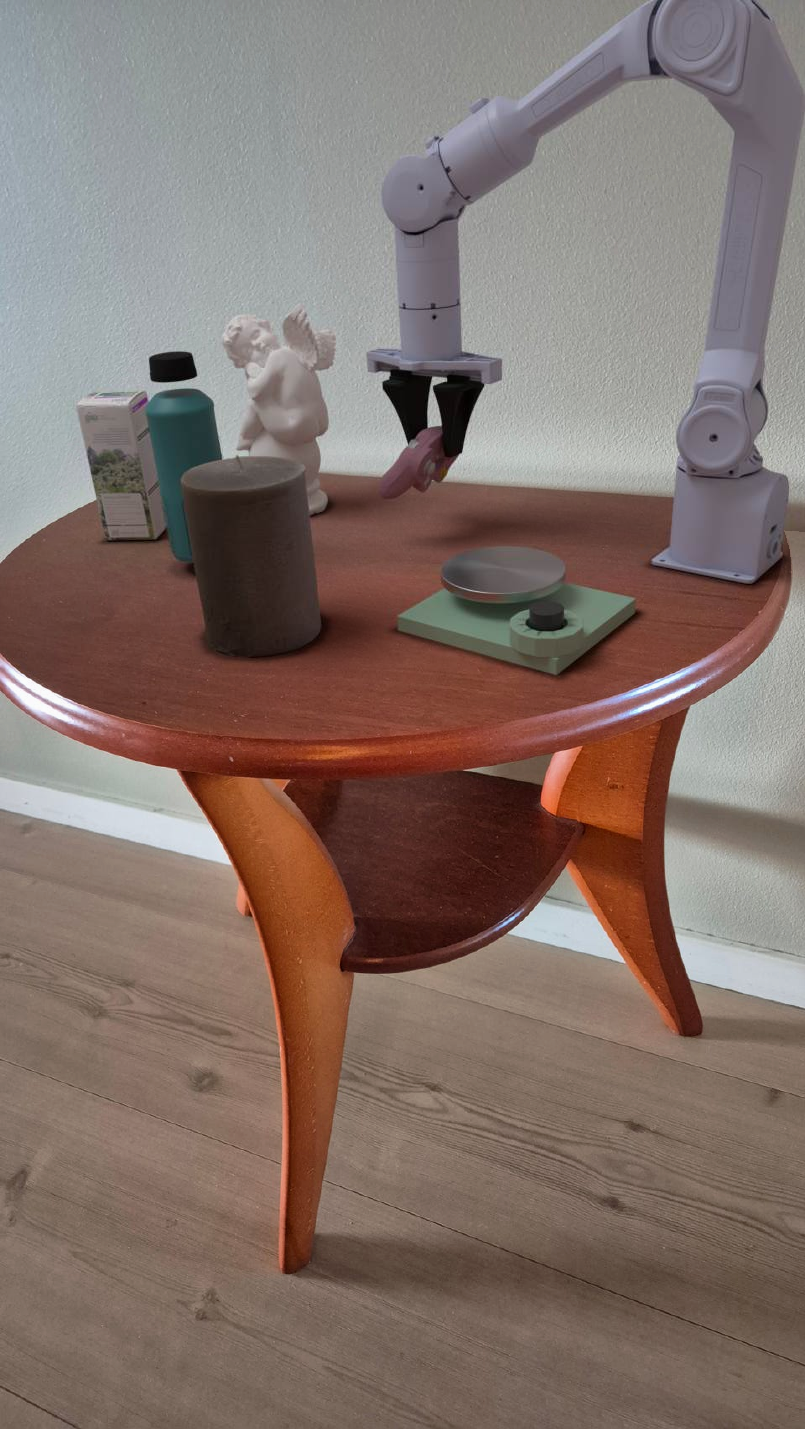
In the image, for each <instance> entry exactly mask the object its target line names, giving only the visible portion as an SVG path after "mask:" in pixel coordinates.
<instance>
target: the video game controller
mask: <svg viewBox="0 0 805 1429" xmlns="http://www.w3.org/2000/svg"><path fill="white" fill-rule="evenodd" d="M459 456H460V454H459V455H456V456H454V457H452V458H449V457H445V454H444V449H443V436H442V424H441V425H435V426H429V427H428V428H427V429H424V430H422V431H421V432H420V433H419V434H418V435H417V437H416V438H415V439H414V440H411V441H410V443H409V445H408V444H407V446H406V447H404V448H403V450H402V451H401V452H400V454H399V456H398V457H397V459H396V461H395V462H394V463H393V465H391V467H390V468H389V469H388V470H387V471H386V472H385V473H384V474H383V475H382V477H381V478H380V480H379V482H378V493H379V495H380V496H381V498H383V499H385V500H392V499H393V500H394V499H397V498H399V497H400V496H402V495H403V494H405V493H406V492H407V491H408V490H409V489H411V488H414V489H415V490H417V491H419V492H421V493H425V492H426V491H428V489H429V487H430V486H431V484H432V482H435V483H438V484H440V483H441V482H443V480H444V479H445V478H446V477H447V476H448V474H449V471H450V468H451V467H452V465H453V464H454V463H455V462H456V460H457V459H458V457H459Z"/></svg>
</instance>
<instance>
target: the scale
mask: <svg viewBox="0 0 805 1429" xmlns="http://www.w3.org/2000/svg"><path fill="white" fill-rule="evenodd" d="M542 601H552V602H557V603H559V604H561V605H563V606H564V627H563V629H561V630H557V631H553V632H542V631H536V630H532V629H530V627H529V608H530V606H531V605H532V604H534V603H537V602H542ZM636 606H637V598H636V597H631V596H627V595H623V594H619V593H615V592H614V593H613V592H610V591H605V590H601V589H595V588H591V587H587V586H583V585H579V584H574V583H569V582H566V581H565V582H564V584H563V585H562V587H561V588H559V589H558V590H557V591H555V592H554V593H552V594H549V595H547V596H544V597H542V598H538V599H534V600H530V601H524V602H516V603H485V602H477V601H472V600H467V599H464V598H461V597H458V596H456V595H454V594H452V593H450V592H448V591H447V590H446V589H445V588H444V587H443V588H442V589H440V590H438V591H436V593H434V594H431V595H430V596H429V597H426V598H425V599H423V600H422V601H420V602H418V603H417V604H415V605H413V606H411V607H409V608H408V609H406V610H404V611H403V612H401V613H399V614H398V615H397V616H396V618H397V620H396V621H397V630H398V631H399V632H403V633H407V634H409V635H414V636H417V637H420V638H423V639H427V640H431V641H434V642H438V643H441V644H445V645H447V646H451V647H452V646H453V647H456V648H459V649H463V650H466V651H469V652H473V653H476V654H479V655H483V656H488V657H490V658H495V659H497V660H501V661H504V662H505V661H506V662H508V663H512V664H516V665H520V666H522V667H526V668H530V669H533V670H535V671H536V670H537V671H539V672H544V673H547V674H551V675H555V676H557V675H559V674H560V673H562V671H564V670H565V669H566V668H568V667H569V666H570V665H571V664H572V663H574V662H575V661H576V660H577V659H578V658H580V657H581V656H582V655H584V654H586V653H587V651H589V650H590V649H591V648H592V647H594V646H595V645H596V644H598V643H599V642H600V641H602V640H603V639H604V638H606V637H607V636H608V635H609V634H610V633H612V632H613V631H614V630H616V629H617V628H619V626H620V625H622V624H623V623H624V622H626V621H627V620H628V619H630V618H631V617H632V616H633V615H634V614H636Z"/></svg>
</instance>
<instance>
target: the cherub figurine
mask: <svg viewBox="0 0 805 1429" xmlns="http://www.w3.org/2000/svg"><path fill="white" fill-rule="evenodd" d="M302 303H303V302H302V301H300V302H298V304H296V305H295V306H294V307H293V308H292V309H291V311H290V312H288V313H287V314H285V316H284V317H283V320H282V322H281V329H282V335H283V336H282V337H284V338H283V339H282V340H279V337H278V336H277V335H276V334H275V332H274V330H273V328H272V327H271V326H270V323H269V321H268V320H267V319H262V318H260V317H259V316H258V314H257V313H256V314H252V315H251V314H249V313H247V314H237V315H236V316H234V317H233V318H231V320H229V322H228V323H227V324H225V326H224V329H225V330H224V332H223V333H222V334H221V336H220V337H221V340H220V342H221V344H222V346H223V348H224V350H225V353H226V355H227V358H228V359H229V360H231V361H232V364H233V367H234V368H235V369H244V375H245V378H246V380H247V386H246V389H247V392H248V395H249V397H250V398H249V399H248V400H249V401H248V405H247V409H246V411H245V413H244V417H243V420H242V424H241V426H240V430H239V435H238V438H237V443H236V448H235V449H236V451H238V452H240V451H241V452H242V451H247V452H248V456H270V457H282V458H288V459H291V460H296V461H297V462H298V463H300V464H303V465H305V467H306V468H305V469H306V471H305V481H306V489H307V499H308V506H309V515H310V516H312V515H314V514H319V513H320V512H321V513H322V512H324V510H326V507H327V505H328V502H329V498H328V494H327V493H326V492H325V491H323V490H321V489H320V487H321V482H320V480H319V478H317V476H318V475H319V471H320V468H321V462H322V458H321V450H320V446H319V443H318V442H317V437H322V436H323V435H325V434H326V433H327V431H328V430H329V424H330V421H329V420H330V419H329V418H330V417H329V411H328V407H327V404H326V401H325V399H324V397H323V396H324V395H323V392H322V385H321V382H320V379H319V377H318V376H319V375H318V374H317V372H316V371H319V372H321V371H326V370H329V369H330V367H332V366H334V360H335V355H336V353H335V352H336V345H337V344H336V336H335V334H332V333H333V331H332V330H331V329H330V328H325V329H323V330H319V329H316V328H313V327H311V326H310V325H311V323H310V321H309V319H308V318H307V317H308V313H307V310H305V309H304V310H303V304H302ZM281 342H284V343H285V345H287V346H285V345H282V344H281Z"/></svg>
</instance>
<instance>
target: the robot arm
mask: <svg viewBox="0 0 805 1429" xmlns="http://www.w3.org/2000/svg"><path fill="white" fill-rule="evenodd" d="M671 79H674V80H676V81H677V82H679V83H681V84H682V85H684V86H686V87H687V88H690V89H692V90H693V91H696V92H697V93H699V94H701V95H702V96H704V97H705V98H707V99H708V102H709V104H710V105H711V106H712V107H713V108H714V109H715V110H716V112H717V113H719V115H720V116H721V118H723V120H724V121H725V122H726V123H727V124H728V125H729V127H730V128H731V129H732V131H733V143H732V149H731V156H730V164H729V171H728V177H727V185H726V191H725V200H724V205H723V213H722V219H721V220H722V221H721V228H720V235H719V243H718V249H717V256H716V263H715V271H714V277H713V284H712V292H711V298H710V305H709V306H710V307H709V312H708V313H709V314H708V321H707V327H706V334H705V341H704V348H703V355H702V357H701V362H700V364H699V368H698V371H697V373H696V374H697V375H696V378H695V382H694V389H693V394H692V399H691V402H690V404H689V406H688V408H687V410H686V411H685V412H684V414H683V415H682V417H681V418H680V420H679V422H678V424H677V428H676V433H675V442H676V447H677V451H678V453H679V455H678V456H677V458H676V468H675V479H674V490H673V491H674V492H673V502H672V515H671V526H670V539H669V546H668V547H667V548H665V549H664V550H663V551H660V553H659V554H657V555H656V556H654V557H653V558H652V559H651V564H652V565H653V566H656V567H662V568H666V569H671V570H675V571H682V572H687V573H691V574H696V575H700V576H705V577H711V578H715V579H720V580H726V581H730V582H731V581H732V582H737V583H741V584H745V585H746V584H747V585H751V584H753V583H755V582H756V581H757V580H758V579H759V578H760V577H761V576H763V575H764V574H765V573H766V572H767V571H768V570H769V569H771V567H773V566H774V565H775V564H776V563H777V562H778V561H779V560H780V559H781V558H782V557H783V554H784V552H783V551H782V544H783V539H784V532H785V525H786V517H787V510H788V503H789V497H790V481H789V478H788V475H786V474H784V473H781V472H775V471H773V470H770V469H768V468H766V467H765V466H763V464H764V457H763V456H762V455H761V454H760V451H759V449H758V447H757V445H756V444H755V441H756V439H757V437H758V436H759V435H760V433H761V432H762V431H763V429H764V427H765V425H766V423H767V422H768V421H767V420H768V415H769V402H768V399H767V396H766V393H765V389H764V384H763V383H764V382H763V380H764V374H765V373H764V372H765V369H766V368H765V367H766V364H765V363H766V360H765V348H766V341H767V335H768V330H769V325H770V324H769V323H770V317H771V312H772V306H773V300H774V293H775V289H776V283H777V278H778V270H779V266H780V260H781V259H780V258H781V252H782V247H783V242H784V235H785V230H786V224H787V217H788V212H789V206H790V201H791V195H792V187H793V182H794V176H795V172H796V171H795V170H796V165H797V159H798V153H799V147H800V143H801V142H800V141H801V136H802V130H803V123H804V118H805V91H804V88H803V86H802V84H801V82H800V80H799V79H800V78H799V77H798V75H797V73H796V69H795V68H794V65H793V63H792V61H791V58H790V57H789V54H788V52H787V49H786V47H785V45H784V42H783V40H782V38H781V35H780V33H779V31H778V27H777V24H776V21H775V18H774V16H773V15H772V14H771V12H769V11H768V10H767V9H766V8H765V7H764V6H763V5H762V4H761V3H760V2H758V1H757V0H648V1H646V2H644V3H643V4H641V5H640V6H638V7H636V9H635V10H633V11H632V12H630V13H629V14H628V15H626V16H625V17H624V18H622V19H621V20H620V21H618V22H617V23H616V24H614V25H613V26H612V27H610V28H609V29H608V30H607V31H606V32H604V33H603V34H602V35H600V36H599V37H598V38H596V39H595V40H594V41H593V42H592V43H590V44H589V45H588V46H587V47H586V48H584V49H583V50H581V51H580V52H579V53H578V54H576V55H575V56H574V57H573V58H571V59H570V60H569V61H568V62H566V63H565V64H563V65H562V66H561V67H559V69H558V70H555V72H554V73H552V74H551V75H550V76H548V78H546V79H545V80H544V81H542V82H541V83H540V84H538V85H537V86H536V87H534V88H533V89H532V90H530V92H529V93H527V94H526V95H524V96H523V97H522V98H521V99H519V100H517V99H513V98H510V97H507V96H504V95H497V96H494V97H493V98H492V99H491V100H490V99H489V97H480V98H478V99H477V100H475V101H474V102H473V103H471V104H470V105H469V110H470V112H471V115H469V116H467V117H466V118H465V119H464V120H463V121H461V122H460V123H459V124H457V125H455V126H454V127H452V129H450V130H449V131H448V132H446V133H445V134H444V135H442V136H439V135H432V136H431V137H430V138H428V139H426V140H425V142H424V145H425V147H426V149H425V152H424V155H420V154H406V155H401V156H400V157H398V159H397V160H396V162H395V164H393V165H392V166H391V167H390V168H389V169H388V171H387V173H386V174H385V176H384V178H383V182H382V186H381V192H380V193H381V194H380V195H381V203H382V208H383V210H384V213H385V215H386V217H387V218H388V220H389V222H390V223H391V224H392V225H393V226H394V229H393V230H394V243H395V245H394V246H395V268H396V285H397V287H396V288H397V304H398V318H399V320H398V321H399V336H400V338H399V339H400V348H381V347H379V348H376V349H372V350H371V349H370V350H367V351H366V366H367V373H372V374H373V373H374V374H376V373H380V372H382V373H389V376H388V379H385V380H383V381H382V382H381V385H382V386H381V388H382V391H383V392H384V393H385V395H386V397H388V400H389V401H390V402H391V404H392V406H393V408H394V410H395V412H396V415H397V417H398V419H399V421H400V424H401V427H402V430H403V432H404V433H403V434H404V436H405V439H406V443H407V446H408V445H409V443H410V441H411V440H414V439H415V438H416V437H417V435H418V434H419V433H420V432H421V431H422V430H424V429H427V428H429V420H428V411H429V410H428V409H429V399H430V392H431V386H432V392H433V394H434V397H435V400H436V403H437V407H438V411H439V416H440V421H441V425H442V436H443V449H444V454H445V457H449V458H452V457H454V456H456V455H459V456H460V455H461V454H463V451H464V445H465V440H466V435H467V432H468V427H469V423H470V420H471V417H472V414H473V411H474V408H475V407H476V404H477V402H478V399H479V397H480V395H481V393H482V392H483V390H484V388H485V385H493V384H494V383H498V382H500V381H502V380H503V359H502V358H501V357H492V356H487V355H482V354H477V353H472V352H467V351H463V340H462V338H463V337H462V305H461V304H462V302H461V273H460V272H461V271H460V269H461V268H460V267H461V266H460V247H459V246H460V244H459V221H460V219H461V217H462V216H463V214H464V212H465V210H466V208H467V206H471V205H473V204H475V203H476V202H477V201H479V200H481V198H484V197H485V196H486V195H488V194H490V193H491V192H493V191H494V190H495V189H496V188H498V187H500V186H501V185H502V184H504V183H506V182H507V181H508V180H510V179H512V178H514V177H515V176H516V175H518V174H519V173H521V172H522V171H523V170H525V169H526V168H528V167H529V166H531V165H532V163H533V161H534V159H535V154H536V151H537V148H538V144H539V142H540V139H541V138H542V137H543V136H545V135H547V134H549V133H550V132H552V131H553V130H555V129H557V128H559V127H560V126H561V125H563V124H565V123H566V122H568V121H569V120H571V119H572V118H574V117H575V116H577V115H579V114H580V113H582V112H584V111H585V110H586V109H589V108H590V107H591V106H592V105H594V104H596V103H598V102H599V101H601V100H602V99H603V98H606V97H607V96H608V95H610V94H612V93H613V92H615V91H617V90H618V89H619V88H621V87H623V86H624V85H626V84H628V83H631V82H643V81H644V82H645V81H657V80H660V81H661V80H671ZM433 378H441V379H442V378H443V379H446V381H442V382H439V383H437V384H433V385H432V381H433Z"/></svg>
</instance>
